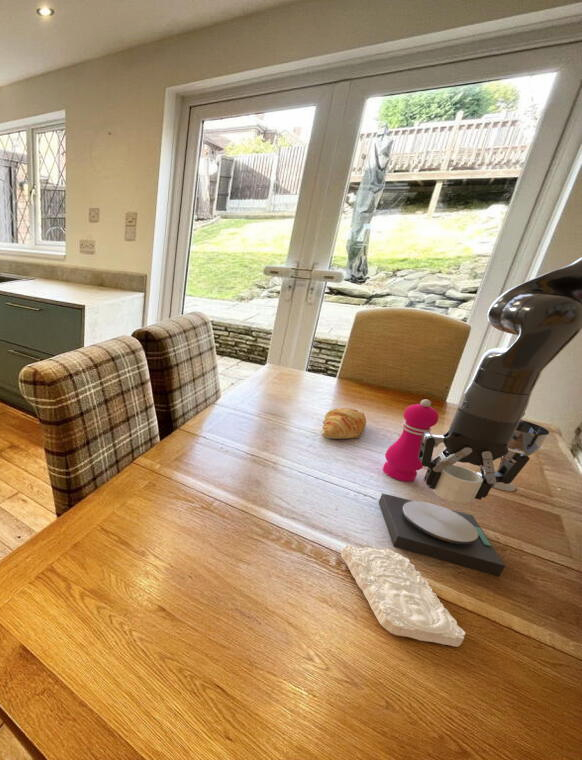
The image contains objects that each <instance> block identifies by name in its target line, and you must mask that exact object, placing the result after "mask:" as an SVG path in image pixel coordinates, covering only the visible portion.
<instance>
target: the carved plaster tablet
mask: <svg viewBox="0 0 582 760" xmlns="http://www.w3.org/2000/svg"><path fill="white" fill-rule="evenodd" d="M340 557H341V558H342V561H344V563H345V564H346V566H347V568H348V570H349V571H350V573H351V575H352V577H353V579H355V582H356V584H357V586H358V588H359V589H360V590H361V591H362V593H363V595H364V597H365V599H366V600H367V602H368V604H369V606H370V608H371V610H372V612H373V613H374V615H375V618H376V619H377V621H378V623H379V624H380V626H381V627H383V629H385V630H386V631H387V632H388V633H390V634H391V635H394V636H399V637H407V638H411V639H414V640H417V641H421V642H430V643H435V644H440V645H447V646H451V647H455V648H457V647H460V646H461V645H462V643H463V641H464V640H465V636H466V631H465V630H464V629H463V628H462V627H460V626H459V625H458V622H457V620H456V618H454V617H453V615H451V613H450V612H449V610H448V609H447V608H445V607H444V604H443V603H442V602H441V600H440V599H439V598H438V596H437V593H435V592H433V591H434V590H433V588H432V587H431V586H430V583H429V582H428V580H427V579H424V578H423V577H422V573H421V572H420V571H419V570H416V566H415V565H414V564H413V563H411V562H410V559H409V558H408V557H406V556H404V555H402V554H401V553H398V552H395V551H393V550H392V549H389V548H386V549H378V548H375V547H368V546H365V547H364V546H363V548H362V547H356V546H353V545H351V544H346V545H345V546H344V547H343V548H342V551H341V553H340Z"/></svg>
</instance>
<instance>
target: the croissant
mask: <svg viewBox="0 0 582 760" xmlns="http://www.w3.org/2000/svg"><path fill="white" fill-rule="evenodd" d="M322 422H323V426H322V431H321V435H322V437H324V438H326V439H327V438H328V439H335V440H341V439H353V438H354V439H356V438H359V437H360V435H361V434H362V432H364V430H365V429H366V426H367V418H366V416H365V413H363V412H360V411H359V410H357V409H353V408H348V407H347V408H346V407H340V408H334V409H331V410H329V411H327V412H326V413H325V415H324V420H323V421H322Z"/></svg>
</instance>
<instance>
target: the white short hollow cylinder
mask: <svg viewBox="0 0 582 760" xmlns="http://www.w3.org/2000/svg"><path fill="white" fill-rule="evenodd" d="M440 472H441V476H440V478H439V480H438V482H437V485H436V487H435V489H431V490H432V492H433V493H434V494H435V495H436V496H437V497H439V498H441V499H443V500H445V501H447V502H450V503H453V504H458V505H468V504H471V503H473V502H474V500H476V499H475V496H476V494H477V492H478V490H479V488H480V486H481V484H482V482H483V478H482V477H481V476H480V475H479V474H478V472H476V471H474V470H472V469H470V468H468V467H465V466H462V465H460V464H459V465H458V464H456V463H454V464H453V465H451V466H447V467H446V468H444V469H443V470H442V471H440Z"/></svg>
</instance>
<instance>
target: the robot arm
mask: <svg viewBox="0 0 582 760" xmlns="http://www.w3.org/2000/svg"><path fill="white" fill-rule="evenodd" d="M487 321H488V322H489V324H490V325H491V326H492V327H493V328H494V329H496V330H498V331H501V332H504V333H507V334H510V335H514V336H516V337H517V338H516V340H515V341H514V342H513V343H512V344H511V346H510V347H509V348H507V347H497V348H492V349H489V350H487V351H485V353H484V354H483V356H482V357H481V359H480V361H479V363H478V366H477V367H476V370H475V373H474V375H473V377H472V379H471V381H470V383H469V385H468V386H467V388H466V390H465V391H464V392H463V395H462V397H461V400H460V402H459V405H458V407H457V408H456V409H457V410H456V412H455V414H454V416H453V419H452V421H451V423H450V426H449V429H448V430H447V432H445V433H444V434H443V435H440V434H439V435H438V434H432V433H431V432H430V433H429V432H424V433H423V435H422V440H421V445H420V451H419V456H418V458H419V460H420V461H421V464H422V465H423V467H424V468H427V470H426V472H425V475H424V477H423V480H424V481H423V482H424V483H425V485H426V486H427V488H428V489H430V490H432V489H435V487H436V485H437V482H438V480H439V478H440V476H441V472H440V471H442V470H443V469H444V468H446V467H447V466H451V465H453V464H456V463H457V462H458V463H462V464H463V463H466V464H471V465H473V466H476V467H477V466H478V467H479V472H481V475H482V476H481V477H482V478H483V482H482V484H481V486H480V488H479V490H478V492H477V494H476V496H475V499H474V500H479V501H481V500H483V499H482V498H484V499H485V498H486V497H488V495H489V493H490V491H491V489H492V488H493V487H492V485H493V484H494V483H497V482H503V483H504V484H509V483H513V481H514V479H515V478H516V477H517V476H518V475H519V473H520V472H522V470H523V468H524V467H525V466H526V464H527V463H528V462H529V461H530V457H529V456H527V455H526V454H525V453H524V452H523V451H522V450H521V449H514V450H513V449H510V448H508V447H507V445H508V443H509V442H510V441H511V439H512V437H513V435H514V433H515V431H516V429H517V427H518V425H519V423H520V421H521V420H523V417H524V416H525V415H526V410H527V409H528V407H529V403H530V399H531V396H532V393H533V391H534V390H535V388H536V385H537V383H538V382H539V379H540V378H541V375H542V373H543V372H544V370H545V369H546V368H547V367H548V366H549V365H550V363H552V362H553V361H554V360H555V359H556V358H557V357H558V356H559V355H560V354H561V353H562V352H563V351H564V350H565V349H566V348H567V347H568V346H569V345H570V344H571V343H572V342H573V341H574V339H576V337H577V336H578V335H579V334H580V333H581V331H582V256H581V257H580V258H578V259H576V260H574V262H572V263H569V264H567V265H565V266H562V267H560V268H557V269H554V270H551V271H548V272H546V273H544V274H541V275H539V276H537V277H534V278H531V279H530V280H527V281H525V282H522V283H520V284H518V285H516V286H514V287H512V288H510V289H508V290H507V291H505V292H504V293H502V294H501V295H500V296H498V297H497V298H496V299H495V301H493V302H492V304H491V305H490V307H489V309H488V312H487ZM442 443H443V444H444V446H445V447H444V448H443V449H441V450H440V451H438V453H437V455H436V456H434V457H433V453H434V449H435V448H437V447H438V446H439V445H440V444H442ZM504 455H505V458H506V460H505V461H504V463H503V464H502V465H501V467H500V468H499V467H498V468H499V469H497V470H496V469H495V464H494V461H496V460H497V459H500V457H502V456H504Z"/></svg>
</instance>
